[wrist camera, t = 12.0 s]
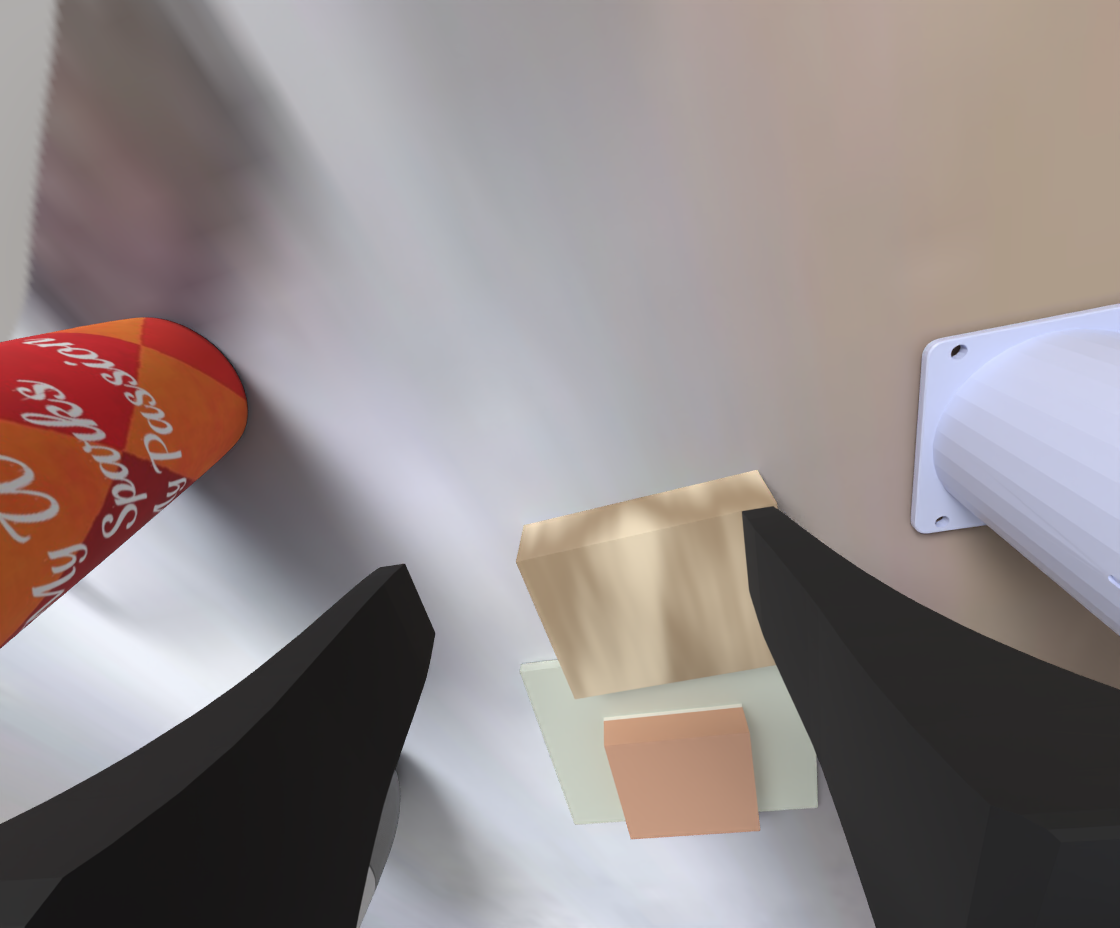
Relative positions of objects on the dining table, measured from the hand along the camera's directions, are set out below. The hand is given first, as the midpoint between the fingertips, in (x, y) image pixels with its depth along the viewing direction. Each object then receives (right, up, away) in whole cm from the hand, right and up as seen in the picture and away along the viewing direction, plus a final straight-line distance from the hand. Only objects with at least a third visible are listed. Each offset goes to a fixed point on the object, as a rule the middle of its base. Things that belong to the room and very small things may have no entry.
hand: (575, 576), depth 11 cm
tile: (+5, -11, +15) cm, 19 cm away
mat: (+6, -12, +17) cm, 22 cm away
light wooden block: (-1, -4, +13) cm, 13 cm away
